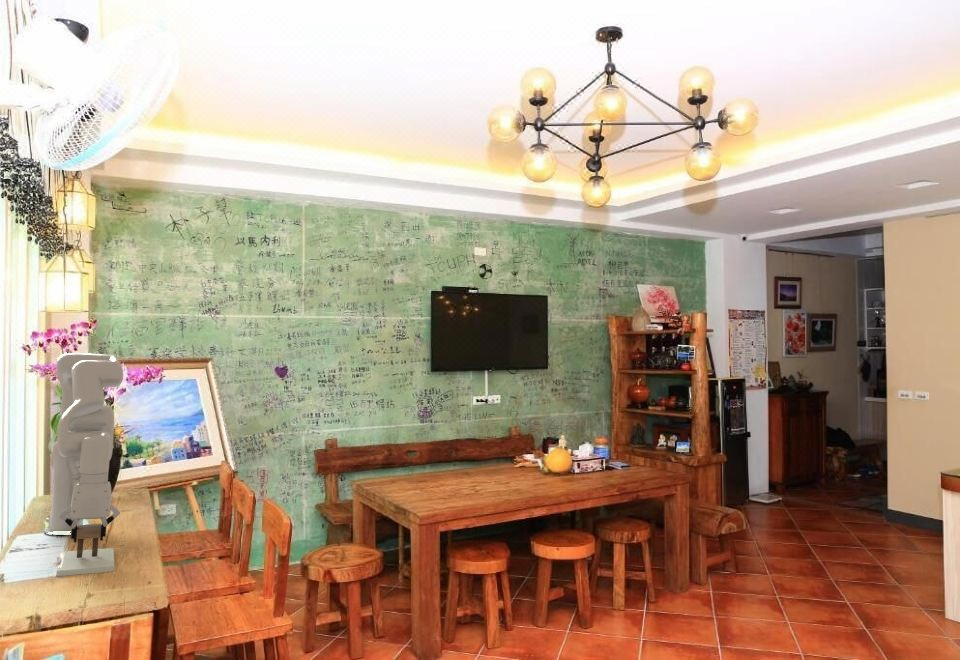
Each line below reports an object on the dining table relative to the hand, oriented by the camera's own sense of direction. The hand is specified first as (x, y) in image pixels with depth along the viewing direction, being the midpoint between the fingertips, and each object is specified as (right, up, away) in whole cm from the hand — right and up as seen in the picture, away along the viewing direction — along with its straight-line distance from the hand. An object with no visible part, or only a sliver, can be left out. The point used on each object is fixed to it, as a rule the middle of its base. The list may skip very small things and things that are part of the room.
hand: (88, 539), depth 199 cm
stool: (0, -4, 0) cm, 4 cm away
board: (0, -7, 0) cm, 7 cm away
